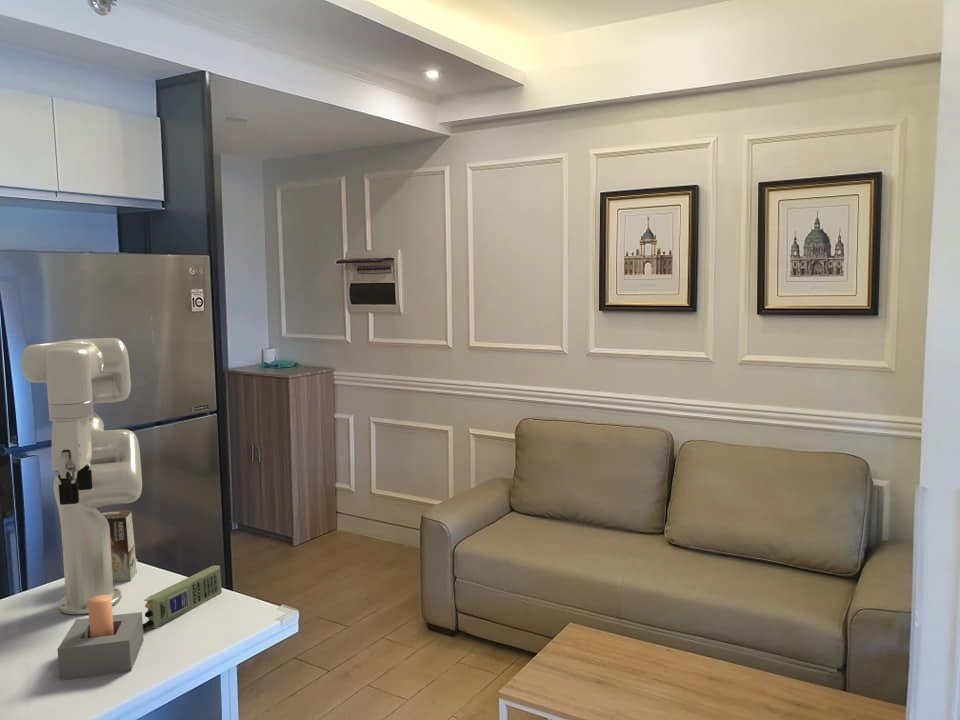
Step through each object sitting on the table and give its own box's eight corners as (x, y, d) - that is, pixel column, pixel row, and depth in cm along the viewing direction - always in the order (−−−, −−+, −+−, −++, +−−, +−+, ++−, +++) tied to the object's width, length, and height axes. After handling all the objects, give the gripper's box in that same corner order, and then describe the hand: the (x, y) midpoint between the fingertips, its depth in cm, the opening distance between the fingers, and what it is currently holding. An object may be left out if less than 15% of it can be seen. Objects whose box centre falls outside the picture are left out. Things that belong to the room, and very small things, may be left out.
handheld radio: (224, 593, 169) (135, 642, 146) (213, 591, 170) (123, 639, 147) (222, 566, 168) (132, 610, 145) (211, 564, 170) (121, 608, 147)
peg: (94, 655, 140) (90, 596, 139) (117, 652, 141) (113, 593, 140) (89, 665, 137) (85, 605, 135) (112, 662, 138) (108, 602, 136)
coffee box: (137, 571, 182) (134, 509, 180) (130, 581, 175) (127, 517, 174) (98, 574, 180) (94, 511, 178) (89, 584, 173) (85, 519, 172)
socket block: (78, 648, 143) (76, 619, 142) (143, 640, 146) (141, 612, 146) (59, 680, 132) (57, 648, 131) (131, 670, 135) (129, 640, 134)
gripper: (63, 404, 148) (68, 486, 149) (34, 420, 131) (41, 511, 133) (103, 403, 150) (108, 483, 151) (80, 418, 133) (86, 508, 135)
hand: (76, 496), depth 142 cm, fingers open, 9 cm apart
